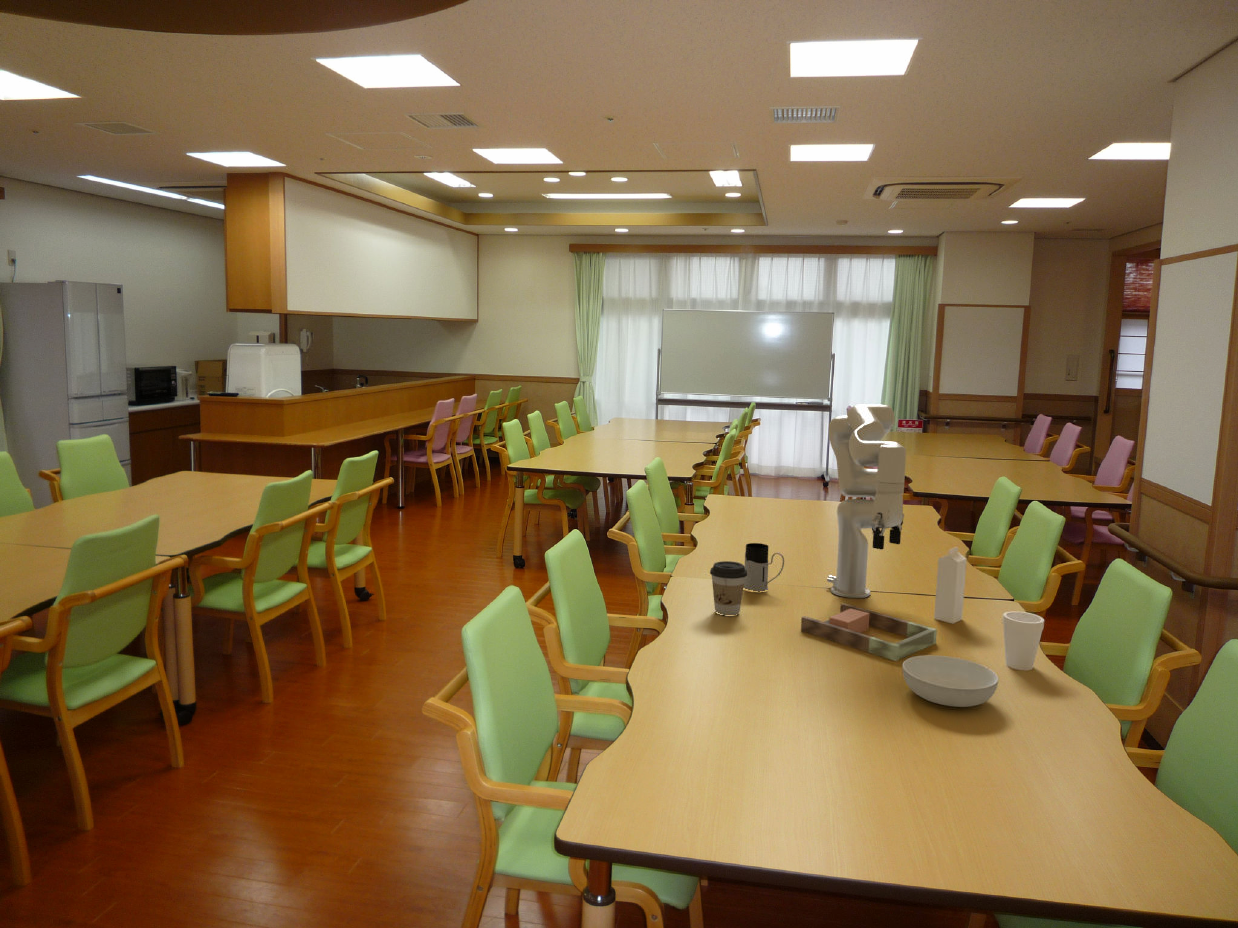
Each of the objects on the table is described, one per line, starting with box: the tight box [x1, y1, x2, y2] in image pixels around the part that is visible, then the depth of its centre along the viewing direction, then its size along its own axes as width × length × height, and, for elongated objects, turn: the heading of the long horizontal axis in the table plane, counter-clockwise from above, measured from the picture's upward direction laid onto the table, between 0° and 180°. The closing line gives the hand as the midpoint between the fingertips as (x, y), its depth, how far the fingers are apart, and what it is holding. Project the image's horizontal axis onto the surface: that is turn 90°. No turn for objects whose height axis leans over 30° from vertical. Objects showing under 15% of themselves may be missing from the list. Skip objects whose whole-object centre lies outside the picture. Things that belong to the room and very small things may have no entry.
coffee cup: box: [709, 560, 747, 616], centre depth 251 cm, size 11×11×15 cm
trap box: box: [800, 602, 938, 662], centre depth 233 cm, size 30×21×4 cm
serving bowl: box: [902, 654, 999, 708], centre depth 192 cm, size 21×21×7 cm
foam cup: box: [1001, 610, 1045, 671], centre depth 213 cm, size 10×9×13 cm
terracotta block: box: [828, 609, 870, 633], centre depth 237 cm, size 6×12×5 cm, turn 135°
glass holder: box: [744, 542, 785, 592], centre depth 275 cm, size 9×14×15 cm, turn 54°
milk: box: [933, 546, 968, 624], centre depth 248 cm, size 6×6×22 cm
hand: (886, 546), depth 239 cm, fingers open, 9 cm apart
